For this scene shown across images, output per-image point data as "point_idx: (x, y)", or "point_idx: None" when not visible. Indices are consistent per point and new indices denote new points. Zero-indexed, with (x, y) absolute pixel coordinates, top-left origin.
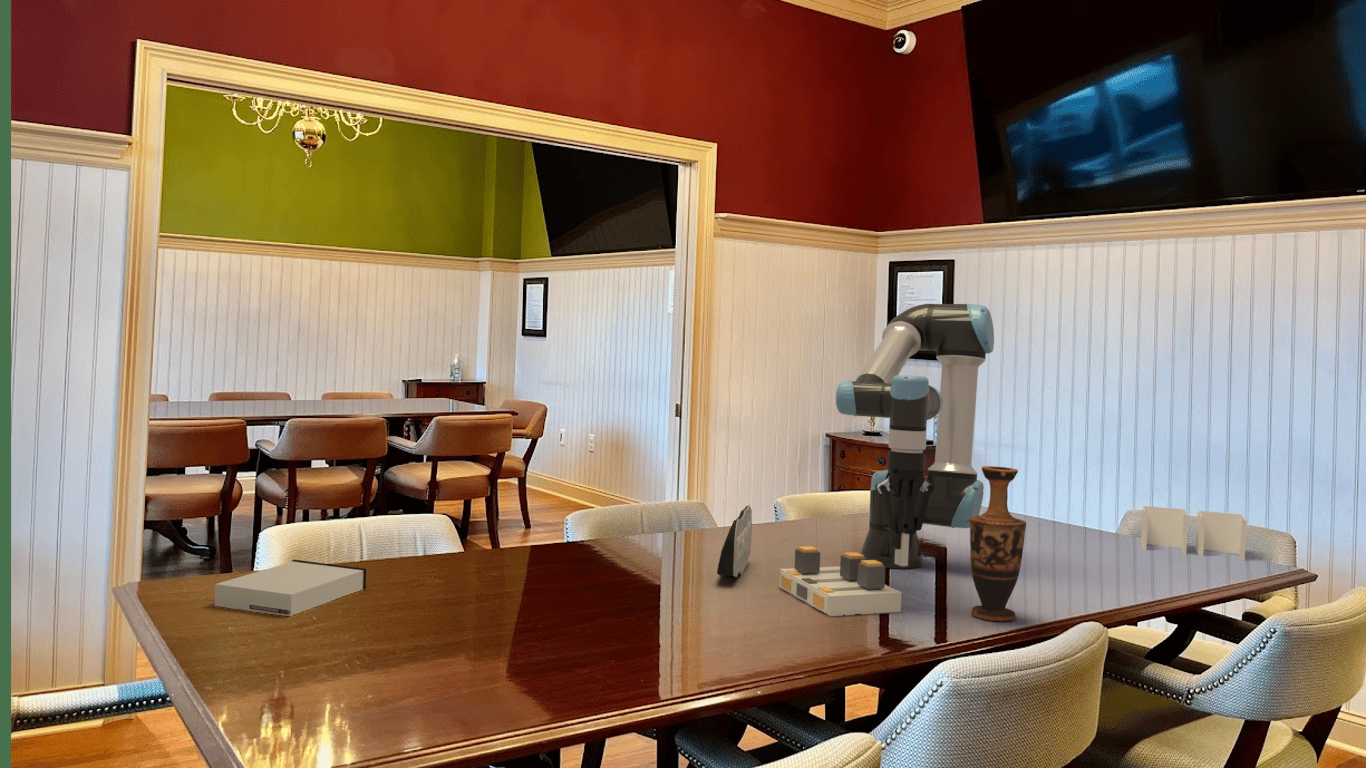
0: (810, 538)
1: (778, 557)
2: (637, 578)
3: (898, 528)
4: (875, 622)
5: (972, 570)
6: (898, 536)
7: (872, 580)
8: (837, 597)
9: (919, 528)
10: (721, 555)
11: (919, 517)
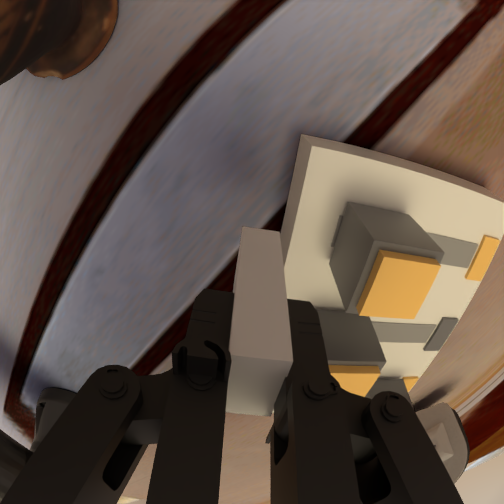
0: (146, 481)
1: (240, 468)
2: (473, 417)
3: (341, 410)
4: (439, 91)
5: (32, 19)
6: (308, 364)
7: (404, 223)
8: (500, 200)
9: (113, 377)
10: (463, 429)
11: (85, 473)
